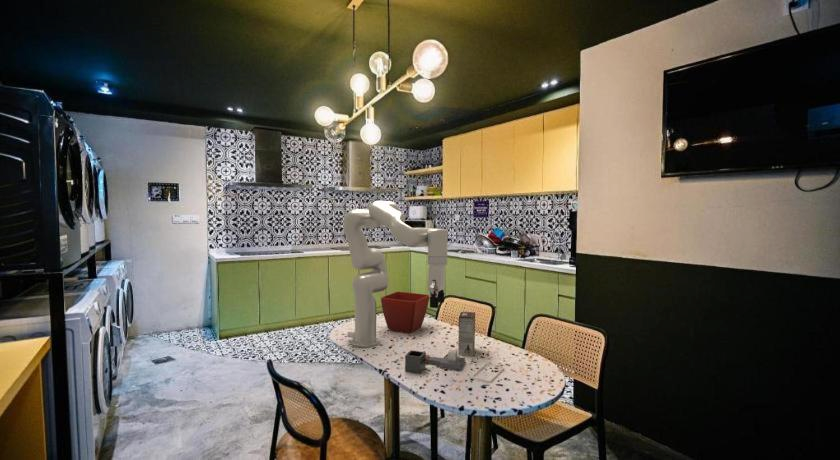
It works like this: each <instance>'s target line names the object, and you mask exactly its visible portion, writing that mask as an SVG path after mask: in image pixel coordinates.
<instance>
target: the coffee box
mask: <svg viewBox="0 0 840 460" xmlns="http://www.w3.org/2000/svg"><path fill="white" fill-rule="evenodd" d="M475 339H476V312H475V311H461V312H460V313H459V316H458V344H457V345H458V346H457V347H458V348H457V349H458V350H457V355H459V356H460V355H462V356H474V353H475V349H476V348H475V347H476V346H475V345H476V344H475V343H476V341H475Z"/></svg>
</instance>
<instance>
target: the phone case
mask: <svg viewBox="0 0 840 460" xmlns="http://www.w3.org/2000/svg"><path fill="white" fill-rule="evenodd" d="M490 365H491V366H495V367H500V370H499V371H497V372H496V373H495V374H494V375H493V376H492V377H491V378H490V379H486V378H481V377H478V376H474V375H476V374H478V373H480V371H482V370H483V369H484V368H486V367H489V366H490ZM503 370H504V366H502V365H498V364H492V363H488V362H485V363H484V364H482V366H481V367H479V368H478V369H476V371H474V372H473V373H472V374H471V376H470V378H471V379H472V380H475V381H479V382H480V381H481V382H483V383H487V384H488V383H489V384H490V383H492V382H493V381H494V380H495V379H496V378H497V377H498V376H499V374H501V373H502V372H503Z"/></svg>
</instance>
